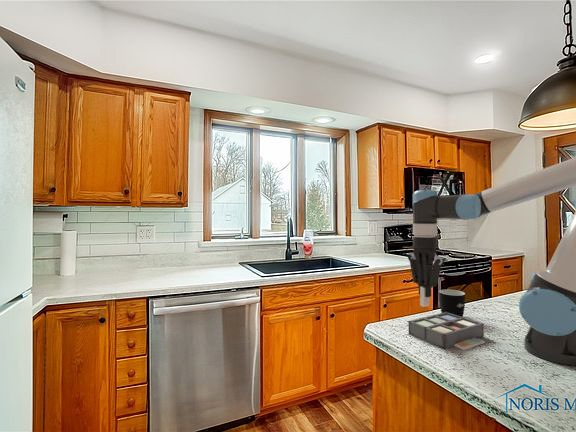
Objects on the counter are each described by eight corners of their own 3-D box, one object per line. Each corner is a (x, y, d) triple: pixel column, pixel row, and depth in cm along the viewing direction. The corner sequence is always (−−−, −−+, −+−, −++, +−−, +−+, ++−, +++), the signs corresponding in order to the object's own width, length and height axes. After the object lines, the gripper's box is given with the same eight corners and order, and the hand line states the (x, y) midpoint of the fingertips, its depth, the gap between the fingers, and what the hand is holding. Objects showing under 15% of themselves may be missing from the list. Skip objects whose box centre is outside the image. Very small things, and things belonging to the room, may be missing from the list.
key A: (458, 324, 106) (458, 318, 106) (450, 326, 104) (450, 320, 104) (447, 320, 110) (447, 314, 110) (438, 322, 108) (438, 317, 108)
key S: (452, 337, 95) (452, 330, 95) (443, 339, 93) (443, 333, 93) (440, 332, 99) (440, 326, 99) (430, 334, 97) (430, 328, 97)
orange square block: (464, 335, 98) (464, 329, 98) (455, 338, 96) (455, 332, 96) (451, 331, 102) (451, 325, 102) (443, 333, 100) (443, 327, 100)
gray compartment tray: (493, 340, 97) (493, 326, 97) (454, 353, 89) (453, 338, 89) (446, 323, 112) (446, 312, 112) (408, 333, 103) (408, 321, 103)
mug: (458, 323, 112) (458, 296, 112) (435, 317, 119) (434, 291, 119) (473, 317, 119) (472, 291, 119) (449, 311, 126) (449, 287, 126)
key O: (476, 330, 101) (476, 324, 101) (467, 332, 99) (467, 326, 99) (463, 325, 105) (463, 320, 105) (454, 328, 103) (454, 322, 103)
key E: (436, 330, 101) (435, 324, 101) (426, 333, 99) (426, 327, 99) (424, 326, 105) (424, 320, 105) (415, 328, 103) (415, 322, 103)
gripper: (450, 237, 97) (449, 309, 98) (416, 234, 109) (416, 299, 109) (434, 238, 94) (434, 313, 94) (401, 235, 106) (401, 302, 106)
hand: (424, 305), depth 102 cm, fingers closed
